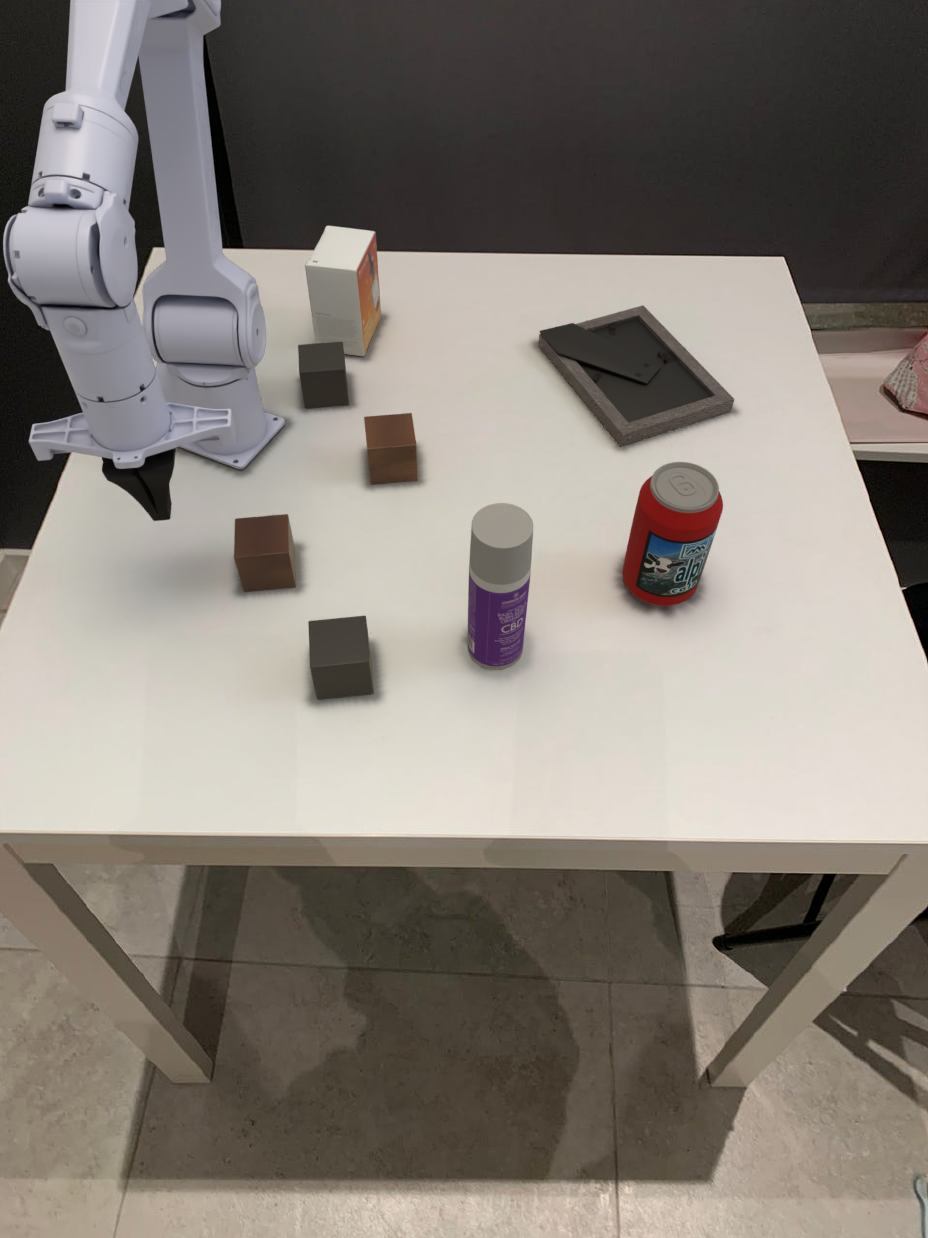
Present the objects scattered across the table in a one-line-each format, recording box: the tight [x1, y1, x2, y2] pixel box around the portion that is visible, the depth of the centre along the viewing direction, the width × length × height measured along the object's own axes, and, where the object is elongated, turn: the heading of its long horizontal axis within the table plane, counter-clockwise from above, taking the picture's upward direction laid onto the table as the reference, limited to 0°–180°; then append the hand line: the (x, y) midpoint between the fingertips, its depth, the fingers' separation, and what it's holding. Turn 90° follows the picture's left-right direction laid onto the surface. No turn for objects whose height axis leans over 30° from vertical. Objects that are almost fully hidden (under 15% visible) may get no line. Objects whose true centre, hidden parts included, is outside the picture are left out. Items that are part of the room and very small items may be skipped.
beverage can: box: [621, 461, 724, 607], centre depth 78 cm, size 7×7×12 cm
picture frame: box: [537, 304, 736, 447], centre depth 100 cm, size 13×2×18 cm
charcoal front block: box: [307, 615, 375, 700], centre depth 75 cm, size 5×5×5 cm
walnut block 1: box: [233, 513, 297, 593], centre depth 82 cm, size 5×5×5 cm
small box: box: [304, 225, 382, 357], centre depth 100 cm, size 8×6×10 cm
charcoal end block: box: [297, 342, 350, 409], centre depth 97 cm, size 5×5×5 cm
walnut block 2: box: [363, 412, 419, 485], centre depth 90 cm, size 5×5×5 cm
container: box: [467, 502, 534, 671], centre depth 72 cm, size 5×5×15 cm
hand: (162, 511), depth 76 cm, fingers closed
